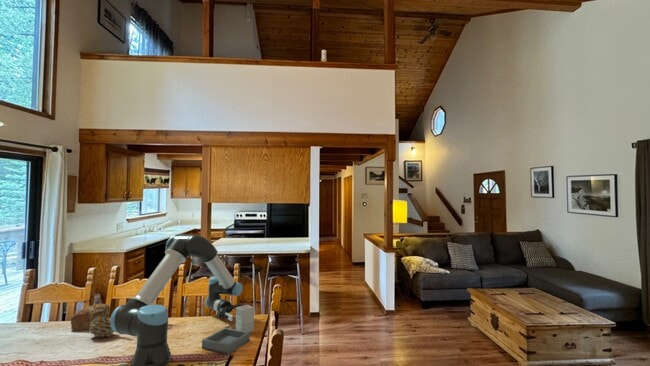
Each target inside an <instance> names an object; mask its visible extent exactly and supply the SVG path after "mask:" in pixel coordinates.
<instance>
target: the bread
mask: <svg viewBox="0 0 650 366" xmlns="http://www.w3.org/2000/svg"><path fill="white" fill-rule="evenodd" d="M109 315H110V305H109V304H107V303H95V304H91V305H88V306H86V307H85V308H82V309H81V310H78V311H77V312H75V313H74V314H73V315H72V317H71V319H70V325H71V326H70V328H71V330H73V331H81V330H82V331H89V327H90V326H89V325H90V324H91V322H92V321H93V320H94V319H96V318H97V317H103V316H105V317H106V316H107V317H108V318H110V317H109Z"/></svg>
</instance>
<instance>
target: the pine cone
mask: <svg viewBox="0 0 650 366" xmlns="http://www.w3.org/2000/svg"><path fill="white" fill-rule="evenodd" d="M110 318H111V317H107V316H106V317H105V316H103V317H97V318H96V319H94V320H93V321H92V322H91V324H90V325H89V326H90V327H89V329H88V331H89V332H88V333H90V334H91V335H93V336H95V337H100V338H101V337H102V338H105V337H106V338H109V337H111V336H112V335H113V334H114V333H116V332H115V331H113V330H112V328H111V326H110Z"/></svg>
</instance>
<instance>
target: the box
mask: <svg viewBox="0 0 650 366" xmlns="http://www.w3.org/2000/svg"><path fill="white" fill-rule="evenodd" d="M250 341H251V332H245V331H240V330H236V329H235V328H234V329H233V328H228V327H223V328H222V329H220V330H217V331H216V332H214V333H212V334H211V335H208V336H207V337H204V338H203V339H202V340H201V349H203V350H205V351H206V350H207V351H210V352H214V353H219V354H224V355H228V354H229V355H230V354H232V353H233V352H236V350H238V349H240V348H241V347H243V346H244V345H246V344H247V343H249V342H250Z"/></svg>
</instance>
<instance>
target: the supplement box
mask: <svg viewBox="0 0 650 366" xmlns="http://www.w3.org/2000/svg"><path fill="white" fill-rule="evenodd" d="M243 305H244V306H240V307H236V312H235V330H240V331H245V332H250V333H251V332H254V331H255V330H254V329H255V327H254V326H255V324H254V322H255V315H254V314H255V308H254V306H251V305H249V304H243Z"/></svg>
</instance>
